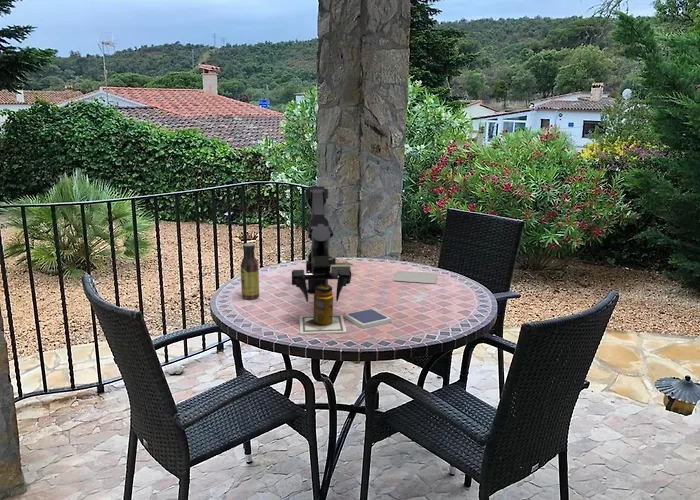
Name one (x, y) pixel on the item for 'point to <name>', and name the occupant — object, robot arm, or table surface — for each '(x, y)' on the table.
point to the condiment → (322, 307)
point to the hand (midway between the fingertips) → (322, 301)
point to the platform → (340, 266)
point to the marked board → (331, 329)
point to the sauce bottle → (249, 273)
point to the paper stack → (415, 277)
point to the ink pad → (367, 318)
